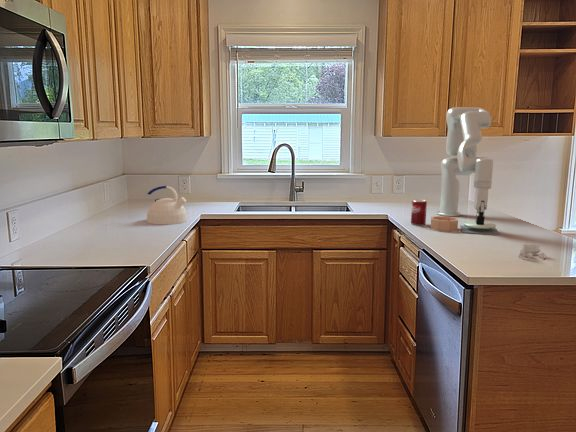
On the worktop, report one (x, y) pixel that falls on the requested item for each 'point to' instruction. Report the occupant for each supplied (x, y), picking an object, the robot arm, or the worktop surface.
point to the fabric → (531, 252)
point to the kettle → (167, 209)
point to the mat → (479, 230)
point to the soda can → (418, 212)
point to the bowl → (444, 223)
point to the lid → (474, 225)
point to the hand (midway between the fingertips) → (479, 223)
